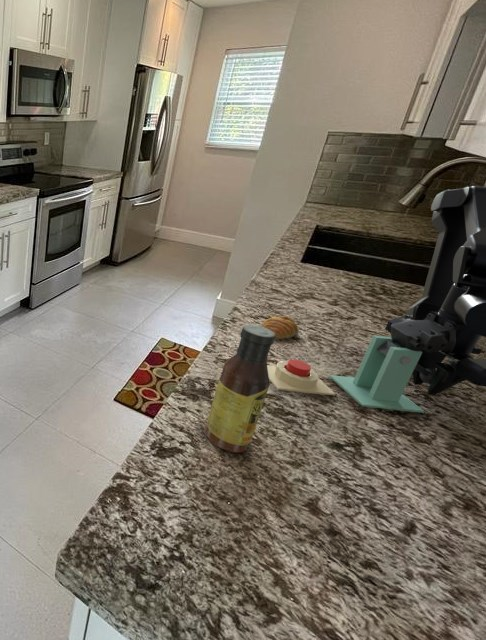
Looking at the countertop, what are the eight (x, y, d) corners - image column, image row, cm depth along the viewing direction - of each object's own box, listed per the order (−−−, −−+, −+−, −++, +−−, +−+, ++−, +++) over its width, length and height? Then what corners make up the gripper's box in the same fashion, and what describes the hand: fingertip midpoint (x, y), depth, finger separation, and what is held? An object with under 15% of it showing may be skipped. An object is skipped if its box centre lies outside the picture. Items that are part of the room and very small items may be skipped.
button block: (307, 373, 84) (312, 361, 83) (333, 399, 77) (339, 385, 76) (255, 368, 85) (259, 356, 84) (276, 393, 78) (281, 380, 77)
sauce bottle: (247, 461, 62) (287, 348, 55) (202, 444, 65) (234, 334, 58) (248, 435, 67) (284, 328, 60) (205, 420, 70) (235, 316, 63)
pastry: (285, 346, 94) (290, 331, 93) (252, 334, 99) (257, 320, 98) (298, 334, 100) (302, 320, 98) (266, 323, 104) (270, 310, 103)
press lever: (423, 380, 77) (437, 369, 76) (437, 391, 74) (453, 379, 73) (373, 349, 76) (387, 337, 75) (386, 358, 73) (401, 346, 72)
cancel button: (301, 367, 81) (303, 360, 81) (312, 378, 78) (315, 370, 77) (281, 365, 82) (284, 358, 81) (292, 376, 78) (295, 368, 78)
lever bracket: (382, 385, 81) (406, 333, 77) (422, 416, 73) (451, 360, 69) (327, 379, 82) (348, 328, 78) (360, 410, 74) (386, 354, 70)
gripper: (372, 287, 80) (342, 356, 85) (465, 336, 62) (419, 417, 68) (435, 293, 78) (400, 362, 84) (547, 344, 61) (494, 427, 67)
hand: (423, 389), depth 76 cm, fingers closed on press lever, 3 cm apart
